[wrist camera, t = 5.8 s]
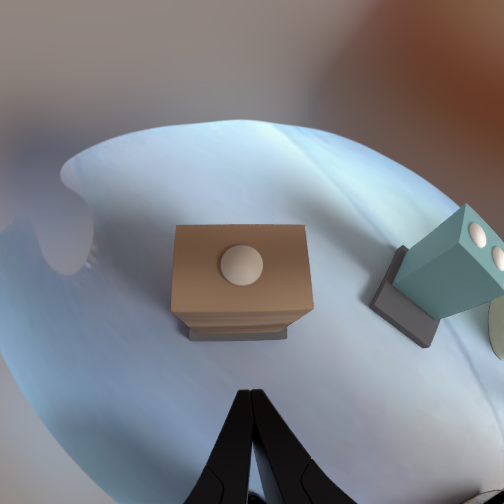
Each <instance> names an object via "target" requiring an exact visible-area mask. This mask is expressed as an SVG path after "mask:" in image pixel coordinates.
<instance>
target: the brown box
mask: <svg viewBox="0 0 504 504" xmlns="http://www.w3.org/2000/svg"><path fill="white" fill-rule="evenodd" d="M313 309H314V305H313V294H312V284H311V275H310V266H309V257H308V249H307V241H306V233H305V225H274V224H229V225H176V233H175V245H174V258H173V274H172V295H171V312H172V313H173V314H174V315H176V316H177V317H178V318H179V319H180V320H182V321H183V322H184V323H185V324H186V325H187V326H189V327H190V328H191V329H192V330H194V331H195V332H196V333H262V332H280V331H281V330H283V329H284V328H286V327H287V326H289V325H290V324H292V323H293V322H295V321H296V320H298V319H300V318H301V317H302V316H304V315H305V314H307V313H308V312H310V311H311V310H313Z"/></svg>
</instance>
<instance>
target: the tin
mask: <svg viewBox="0 0 504 504" xmlns="http://www.w3.org/2000/svg"><path fill="white" fill-rule="evenodd" d="M499 491H500V490H493V491H488V492H484V493H481V494H479V495H476V496H474V497H472V498H471V499H469V500H467V501H465V502H463V503H461V504H482V503H483V502H484V501H486V500H487V499H489V498H490V497H492V496H493V495H495V494H496V493H498V492H499Z"/></svg>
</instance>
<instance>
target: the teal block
mask: <svg viewBox="0 0 504 504" xmlns="http://www.w3.org/2000/svg"><path fill="white" fill-rule="evenodd" d="M392 285H393V286H394V287H395V288H396V289H398V290H399V291H400V292H401V293H403V294H404V295H405V296H406V297H408V298H409V299H410V300H411V301H413V302H414V303H415V304H416V305H418V306H419V307H420V308H421V309H422V310H424V311H425V312H426V313H427V314H429V315H430V316H431V317H432V318H433V319H435V320H439V319H442V318H445V317H448V316H451V315H454V314H457V313H459V312H462V311H465V310H468V309H470V308H473V307H476V306H478V305H481V304H483V303H486V302H489V301H491V300H493V299H496V298H498V297H501V296H503V295H504V242H503V241H502V240H501V239H500V238H499V237H498V236H497V235H496V233H495V232H494V231H493V230H492V229H491V228H490V227H489V226H488V225H487V224H486V222H484V220H483V219H482V218H481V217H480V216H479V215H478V214H477V213H476V212H475V211H474V210H473V209H472V208H471V207H470V206H469V205H468V204H464V205H463V206H462V207H461V208H460V209H459V210H458V211H456V212H455V213H454V214H453V215H452V216H450V217H449V218H448V219H447V220H446V221H445V222H443V223H442V224H441V225H440V226H438V227H437V228H436V229H435V230H434V231H432V232H431V233H430V234H429V235H427V236H426V237H425V238H423V239H422V240H421V241H420V242H418V243H417V244H416V245H414V246H413V247H412V248H411V249H409V250H408V251H407V252H406V254H405V256H404V259H403V261H402V263H401V266H400V268H399V270H398V272H397V275H396V277H395V279H394V281H393V283H392Z"/></svg>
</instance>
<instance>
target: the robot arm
mask: <svg viewBox="0 0 504 504" xmlns="http://www.w3.org/2000/svg"><path fill="white" fill-rule="evenodd" d="M252 443H253V449H254V453H255V458H256V462H257V466H258V471H259V475H260V479H261V483H262V488H263V492H264V496H265V500H266V501H265V500H264V499H263V498H262V497H260V496H259V495H258V494H257V493H249V494H248V489H249V477H250V465H251V452H252ZM251 497H255V499H250V498H251ZM183 504H357V503H356V502H355V501H354V500H353V499H351V498H350V497H349V496H348V495H347V494H346V493H344V492H343V491H342V490H341V489H340V488H339V487H338V486H337V485H336V484H335V483H333V482H332V481H331V480H330V479H329V478H328V477H327V476H326V474H325V473H324V472H323V471H322V470H321V469H320V467H319V466H318V465H317V464H316V462H315V461H314V460H313V459H311V456H310V455H309V454H308V452H307V451H306V450H305V448H304V447H303V446H302V444H301V443H300V442H299V440H298V439H297V438H296V436H295V435H294V433H293V432H292V431H291V429H290V428H289V427H288V425H287V424H286V422H285V421H284V420H283V418H282V417H281V415H280V414H279V413H278V411H277V410H276V408H275V407H274V405H273V404H272V403H271V401H270V400H269V398H268V397H267V395H266V394H265V392H264V391H263V390H262V389H252V390H251V391H250V390H238V392H237V394H236V396H235V399H234V401H233V404H232V406H231V408H230V411H229V413H228V415H227V418H226V420H225V422H224V425H223V427H222V429H221V432H220V434H219V436H218V439H217V441H216V443H215V445H214V448H213V450H212V452H211V454H210V456H209V459H208V461H207V463H206V466H205V467H204V469H203V471H202V474H201V476H200V477H199V479H198V481H197V483H196V485H195V487H194V488H193V490H192V491H191V493H190V495H189V496H188V498H187V499H186V500H185V502H184V503H183ZM482 504H504V488H503V489H502V490H500V491H499V492H498V493H496V494H495V495H493V496H492V497H490V498H489V499H487V500H486V501H484V502H483V503H482Z"/></svg>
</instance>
